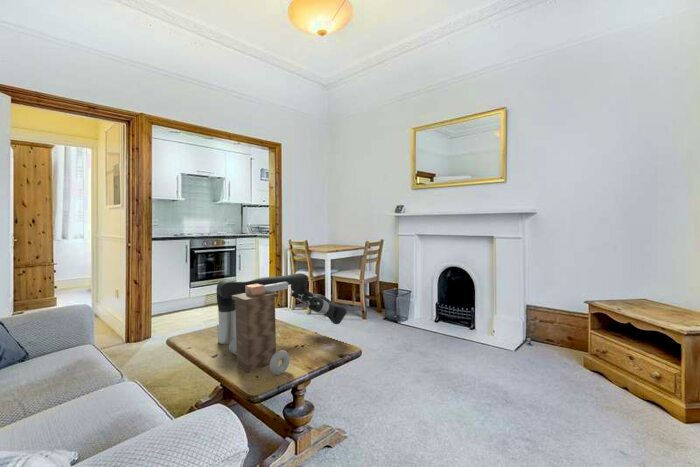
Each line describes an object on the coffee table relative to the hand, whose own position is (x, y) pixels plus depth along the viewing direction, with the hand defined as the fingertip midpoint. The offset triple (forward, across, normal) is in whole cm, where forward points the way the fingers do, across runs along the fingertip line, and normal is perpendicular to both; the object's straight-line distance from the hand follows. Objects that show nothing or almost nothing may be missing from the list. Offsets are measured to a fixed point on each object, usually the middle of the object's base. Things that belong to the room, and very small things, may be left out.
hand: (297, 295), depth 165 cm
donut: (+5, -16, -35) cm, 38 cm away
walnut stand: (+6, 0, -36) cm, 36 cm away
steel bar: (+16, 0, -4) cm, 17 cm away
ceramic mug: (+5, +16, -35) cm, 39 cm away
